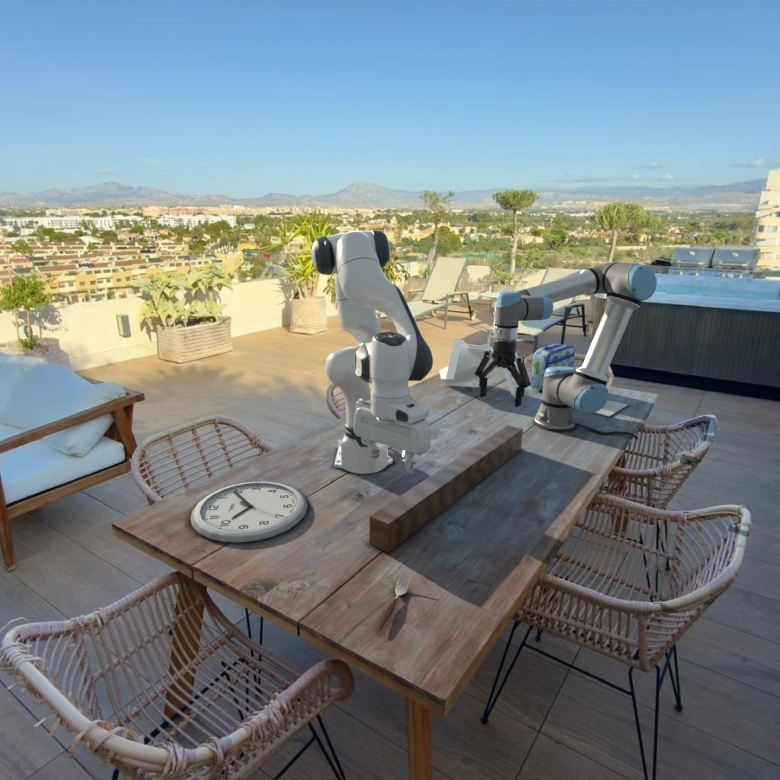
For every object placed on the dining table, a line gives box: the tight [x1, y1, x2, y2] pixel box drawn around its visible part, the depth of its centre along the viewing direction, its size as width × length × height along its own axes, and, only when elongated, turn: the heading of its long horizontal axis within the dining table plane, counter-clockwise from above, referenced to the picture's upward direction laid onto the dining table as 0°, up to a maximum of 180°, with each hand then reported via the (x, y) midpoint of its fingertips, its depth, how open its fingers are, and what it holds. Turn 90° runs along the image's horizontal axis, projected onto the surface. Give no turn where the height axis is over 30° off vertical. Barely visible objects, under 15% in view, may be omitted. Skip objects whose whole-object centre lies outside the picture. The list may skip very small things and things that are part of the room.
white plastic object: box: [438, 310, 531, 398], centre depth 245 cm, size 37×45×31 cm
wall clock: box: [190, 481, 308, 544], centre depth 139 cm, size 30×2×30 cm
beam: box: [369, 424, 524, 553], centre depth 152 cm, size 77×6×8 cm, turn 143°
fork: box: [379, 571, 412, 631], centre depth 105 cm, size 3×16×2 cm, turn 160°
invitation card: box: [594, 399, 629, 418], centre depth 226 cm, size 21×1×15 cm
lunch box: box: [530, 343, 576, 391], centre depth 249 cm, size 26×11×21 cm, turn 134°
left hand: (390, 461), depth 122 cm, fingers open, 8 cm apart
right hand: (500, 401), depth 177 cm, fingers open, 13 cm apart
